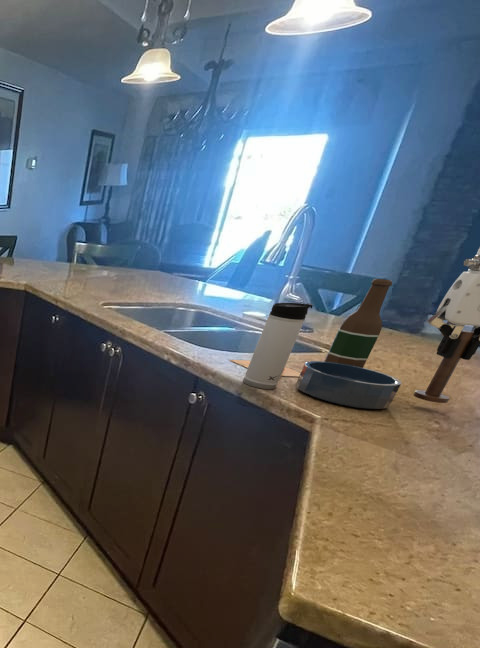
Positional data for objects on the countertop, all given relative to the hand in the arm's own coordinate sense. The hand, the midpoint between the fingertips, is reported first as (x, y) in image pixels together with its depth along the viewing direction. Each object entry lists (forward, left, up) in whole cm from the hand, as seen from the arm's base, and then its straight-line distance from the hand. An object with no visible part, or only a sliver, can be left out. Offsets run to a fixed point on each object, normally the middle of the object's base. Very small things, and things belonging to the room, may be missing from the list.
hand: (452, 356), depth 102 cm
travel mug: (+21, +20, -12) cm, 32 cm away
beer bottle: (+20, -14, -12) cm, 27 cm away
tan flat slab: (+28, +3, -12) cm, 31 cm away
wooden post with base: (0, 0, -10) cm, 10 cm away
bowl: (+10, +10, -12) cm, 19 cm away
